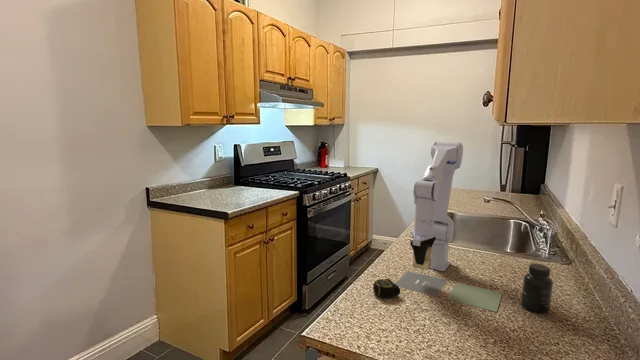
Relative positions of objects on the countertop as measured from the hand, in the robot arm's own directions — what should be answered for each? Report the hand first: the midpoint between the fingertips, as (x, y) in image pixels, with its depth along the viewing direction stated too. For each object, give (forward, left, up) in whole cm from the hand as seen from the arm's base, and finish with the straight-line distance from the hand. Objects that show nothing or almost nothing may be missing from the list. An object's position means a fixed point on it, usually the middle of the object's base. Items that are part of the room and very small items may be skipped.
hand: (422, 261), depth 112 cm
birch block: (0, 0, -2) cm, 2 cm away
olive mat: (0, +16, -7) cm, 18 cm away
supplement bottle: (-2, +31, -7) cm, 32 cm away
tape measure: (+13, -6, -8) cm, 16 cm away
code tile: (0, 0, -7) cm, 7 cm away
